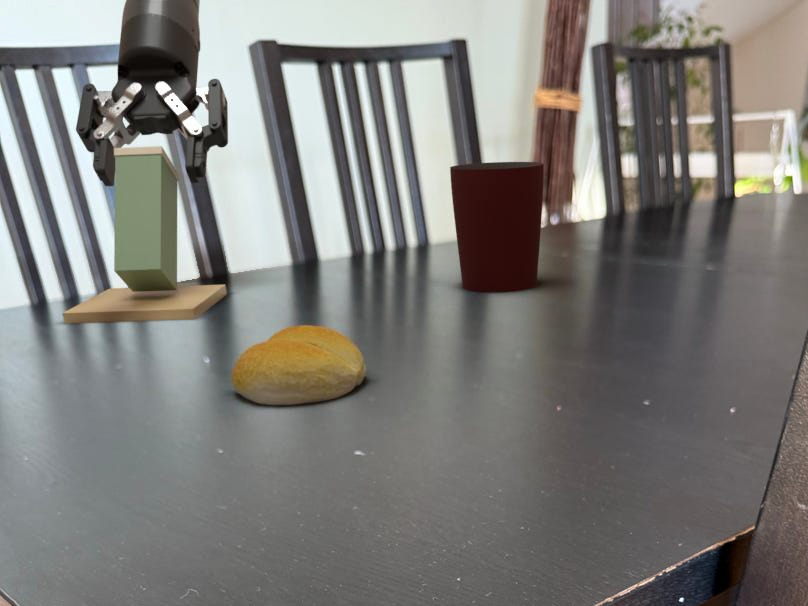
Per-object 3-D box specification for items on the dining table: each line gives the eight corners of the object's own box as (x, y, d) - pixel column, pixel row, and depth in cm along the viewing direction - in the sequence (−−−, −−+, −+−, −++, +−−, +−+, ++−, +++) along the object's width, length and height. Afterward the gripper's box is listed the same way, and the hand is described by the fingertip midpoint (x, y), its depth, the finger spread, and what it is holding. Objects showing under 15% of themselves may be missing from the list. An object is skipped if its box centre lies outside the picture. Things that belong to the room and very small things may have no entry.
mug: (469, 275, 102) (465, 160, 96) (551, 274, 100) (551, 158, 94) (447, 296, 91) (441, 170, 86) (538, 296, 90) (538, 167, 84)
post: (112, 270, 87) (113, 147, 88) (132, 292, 92) (133, 175, 93) (161, 268, 87) (161, 145, 88) (178, 291, 92) (178, 173, 93)
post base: (65, 326, 86) (61, 312, 85) (111, 300, 96) (108, 288, 95) (195, 322, 85) (193, 308, 85) (227, 296, 96) (225, 284, 95)
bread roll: (214, 407, 62) (203, 344, 60) (282, 371, 69) (274, 315, 67) (327, 414, 59) (319, 350, 57) (385, 377, 66) (380, 318, 64)
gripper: (74, 14, 92) (58, 152, 88) (218, 7, 91) (209, 146, 87) (106, 77, 99) (93, 208, 95) (240, 72, 99) (232, 203, 95)
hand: (149, 178), depth 91 cm, fingers open, 8 cm apart
